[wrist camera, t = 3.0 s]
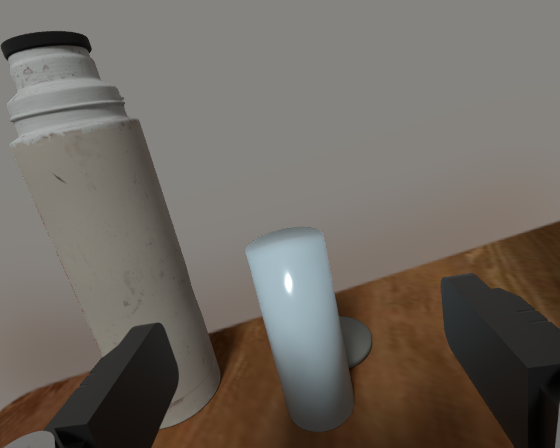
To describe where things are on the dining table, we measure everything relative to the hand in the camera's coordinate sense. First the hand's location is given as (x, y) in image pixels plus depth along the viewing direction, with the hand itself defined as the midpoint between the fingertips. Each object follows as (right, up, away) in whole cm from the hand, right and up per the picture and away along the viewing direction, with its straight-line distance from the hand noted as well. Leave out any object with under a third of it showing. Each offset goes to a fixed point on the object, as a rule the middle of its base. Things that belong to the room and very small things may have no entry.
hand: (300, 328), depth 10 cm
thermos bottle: (-10, -12, +20) cm, 25 cm away
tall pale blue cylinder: (+2, -10, +16) cm, 19 cm away
